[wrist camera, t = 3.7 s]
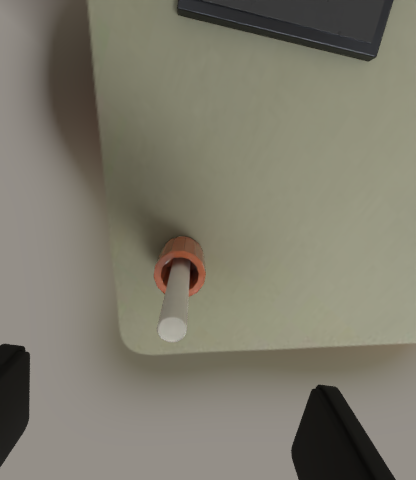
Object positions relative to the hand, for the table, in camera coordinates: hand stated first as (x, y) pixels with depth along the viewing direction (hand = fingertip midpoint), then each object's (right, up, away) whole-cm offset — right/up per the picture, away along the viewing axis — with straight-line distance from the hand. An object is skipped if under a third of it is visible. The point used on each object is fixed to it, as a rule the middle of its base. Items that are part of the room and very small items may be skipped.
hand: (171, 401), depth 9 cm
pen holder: (-1, +4, +14) cm, 14 cm away
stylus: (-1, +4, +13) cm, 14 cm away
